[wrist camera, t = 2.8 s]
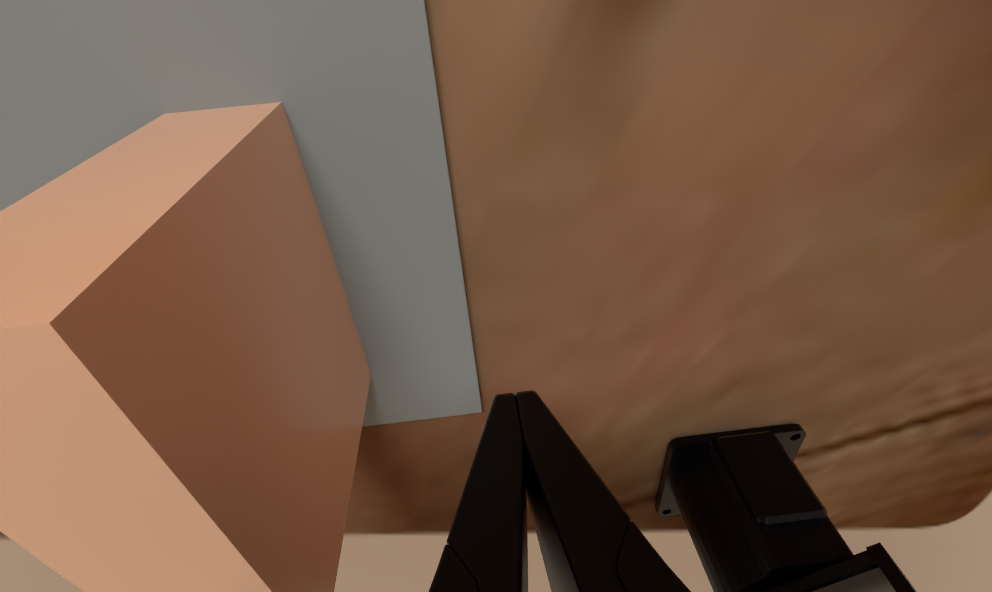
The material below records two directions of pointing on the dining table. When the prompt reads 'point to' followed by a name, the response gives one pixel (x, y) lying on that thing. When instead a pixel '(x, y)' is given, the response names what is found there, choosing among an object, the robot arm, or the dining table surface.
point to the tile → (179, 365)
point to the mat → (316, 130)
